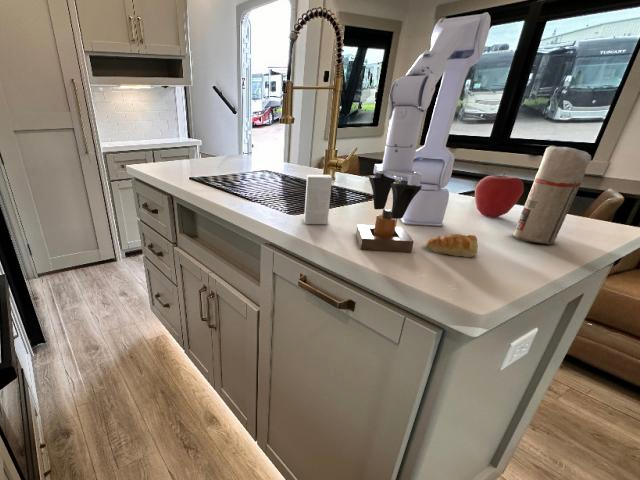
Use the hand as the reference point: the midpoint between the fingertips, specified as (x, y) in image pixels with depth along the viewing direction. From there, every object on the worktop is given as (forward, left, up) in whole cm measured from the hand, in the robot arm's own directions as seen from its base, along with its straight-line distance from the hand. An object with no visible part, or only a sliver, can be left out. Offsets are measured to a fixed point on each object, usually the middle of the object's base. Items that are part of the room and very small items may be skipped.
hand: (387, 213), depth 78 cm
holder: (0, 0, -7) cm, 7 cm away
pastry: (-14, +3, -7) cm, 16 cm away
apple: (-34, -30, -7) cm, 46 cm away
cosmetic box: (+15, -14, -7) cm, 22 cm away
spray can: (-35, -9, -7) cm, 37 cm away
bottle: (0, 0, -7) cm, 7 cm away
